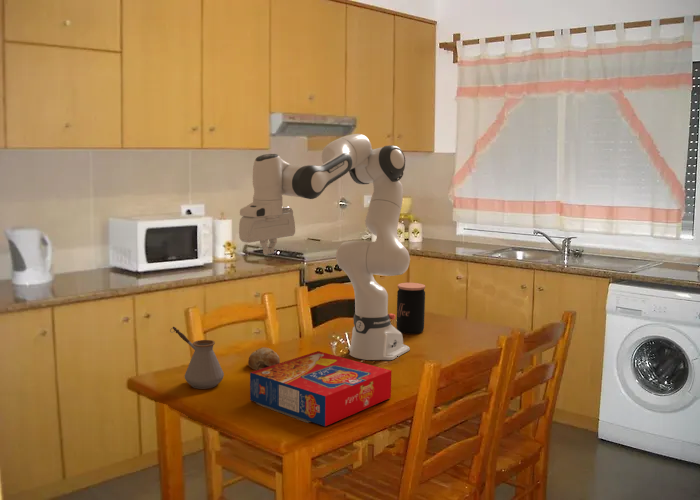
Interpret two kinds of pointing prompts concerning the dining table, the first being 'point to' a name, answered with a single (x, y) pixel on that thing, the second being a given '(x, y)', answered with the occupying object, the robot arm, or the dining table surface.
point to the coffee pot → (202, 364)
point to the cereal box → (320, 387)
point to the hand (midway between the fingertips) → (268, 253)
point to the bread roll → (263, 358)
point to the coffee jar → (410, 308)
